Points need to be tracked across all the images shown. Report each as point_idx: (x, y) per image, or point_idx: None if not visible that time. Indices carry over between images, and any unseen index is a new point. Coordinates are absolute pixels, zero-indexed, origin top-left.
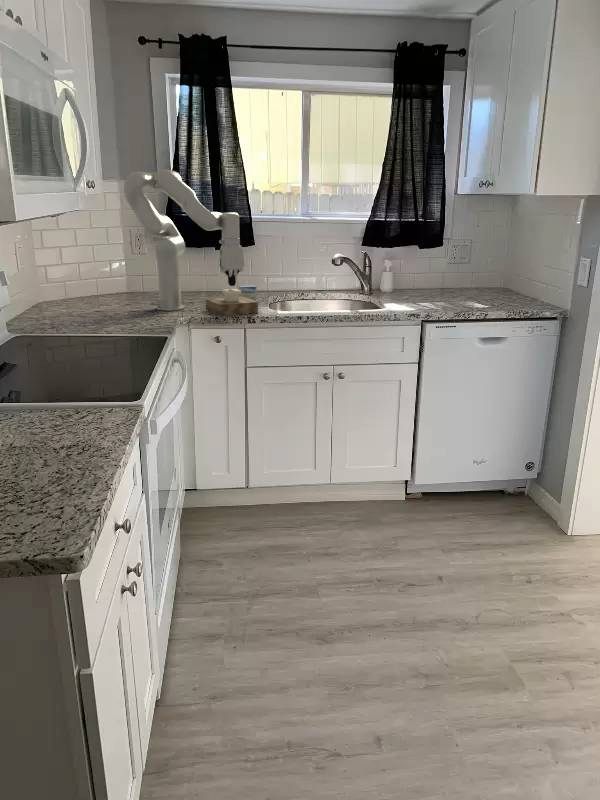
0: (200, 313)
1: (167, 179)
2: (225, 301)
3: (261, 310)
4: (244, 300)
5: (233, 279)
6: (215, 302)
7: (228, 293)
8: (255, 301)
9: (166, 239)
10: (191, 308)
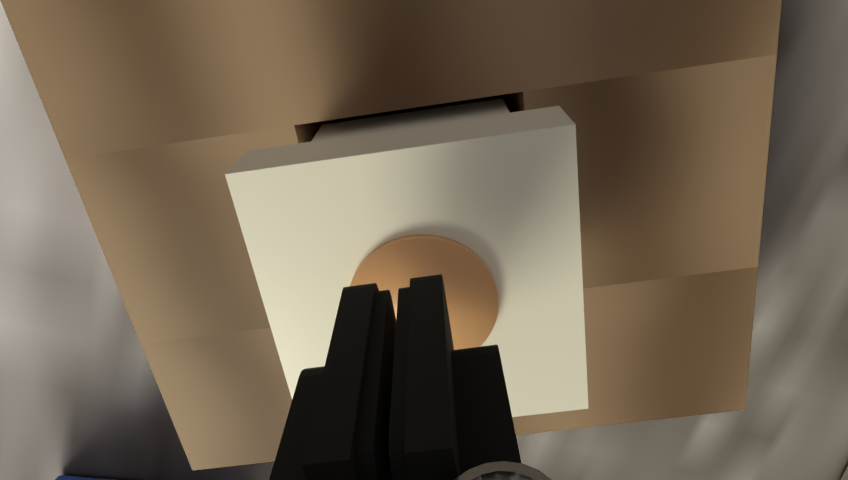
0: (842, 151)
1: None
2: None
3: (23, 148)
4: (214, 162)
5: (378, 390)
6: (758, 89)
7: (549, 113)
8: (25, 8)
9: None
10: (780, 447)
